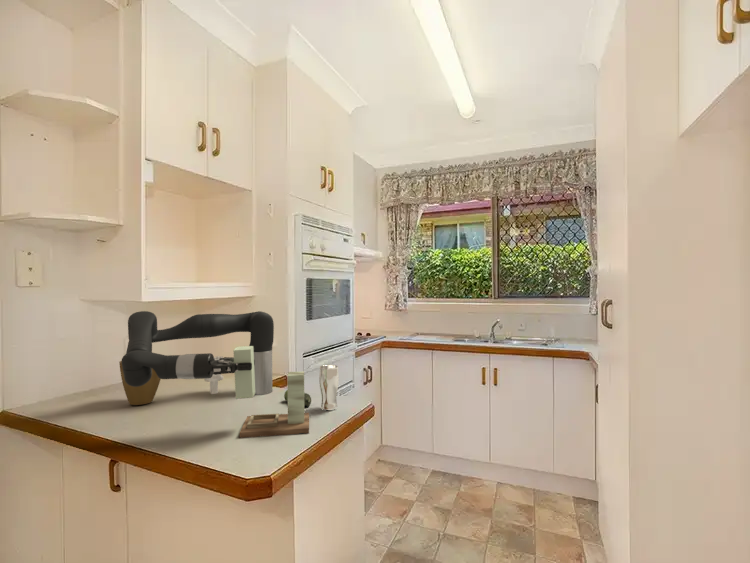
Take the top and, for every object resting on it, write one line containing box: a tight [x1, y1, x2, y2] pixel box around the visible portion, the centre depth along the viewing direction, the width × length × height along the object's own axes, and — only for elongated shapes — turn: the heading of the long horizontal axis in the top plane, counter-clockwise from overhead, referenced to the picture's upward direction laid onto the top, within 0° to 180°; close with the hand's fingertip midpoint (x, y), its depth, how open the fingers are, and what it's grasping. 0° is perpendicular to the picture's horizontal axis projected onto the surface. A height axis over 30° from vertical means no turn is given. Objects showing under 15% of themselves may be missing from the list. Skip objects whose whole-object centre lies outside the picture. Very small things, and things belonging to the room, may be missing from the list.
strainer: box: [204, 355, 224, 395], centre depth 159 cm, size 7×7×15 cm
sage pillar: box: [233, 345, 255, 400], centre depth 120 cm, size 5×5×15 cm
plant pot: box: [118, 360, 161, 406], centre depth 146 cm, size 15×15×16 cm
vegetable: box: [283, 389, 312, 408], centre depth 144 cm, size 14×5×5 cm, turn 47°
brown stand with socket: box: [239, 371, 310, 439], centre depth 121 cm, size 14×20×16 cm
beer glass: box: [318, 364, 340, 411], centre depth 138 cm, size 7×7×15 cm
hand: (253, 364), depth 120 cm, fingers closed on sage pillar, 5 cm apart
